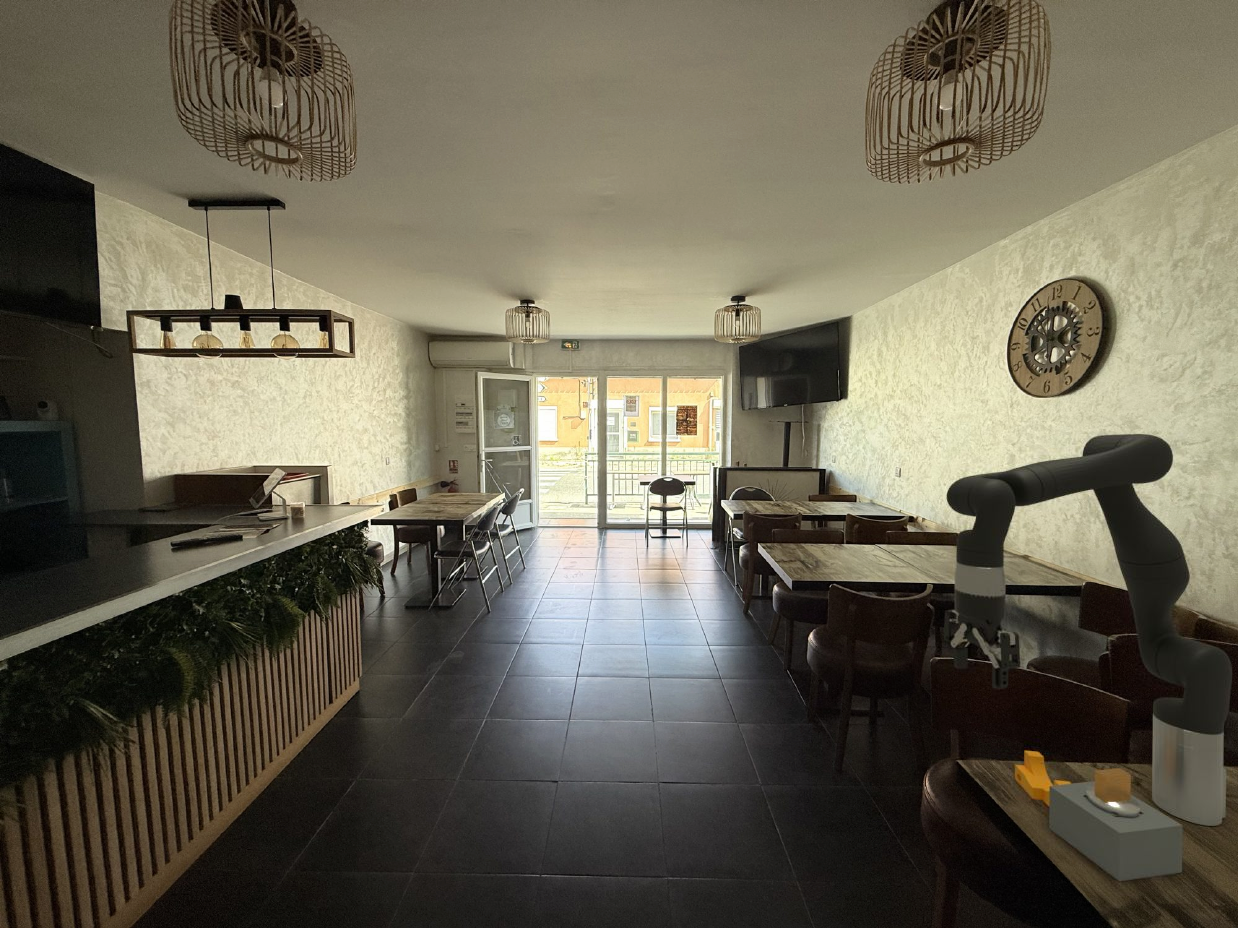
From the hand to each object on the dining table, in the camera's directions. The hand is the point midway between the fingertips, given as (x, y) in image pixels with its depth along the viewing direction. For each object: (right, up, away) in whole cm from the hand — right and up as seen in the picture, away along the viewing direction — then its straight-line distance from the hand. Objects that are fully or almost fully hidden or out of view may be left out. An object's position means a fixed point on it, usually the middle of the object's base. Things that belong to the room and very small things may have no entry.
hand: (979, 677), depth 94 cm
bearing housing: (+21, -29, -3) cm, 36 cm away
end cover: (+21, -24, -3) cm, 32 cm away
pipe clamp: (+20, -29, +11) cm, 37 cm away
